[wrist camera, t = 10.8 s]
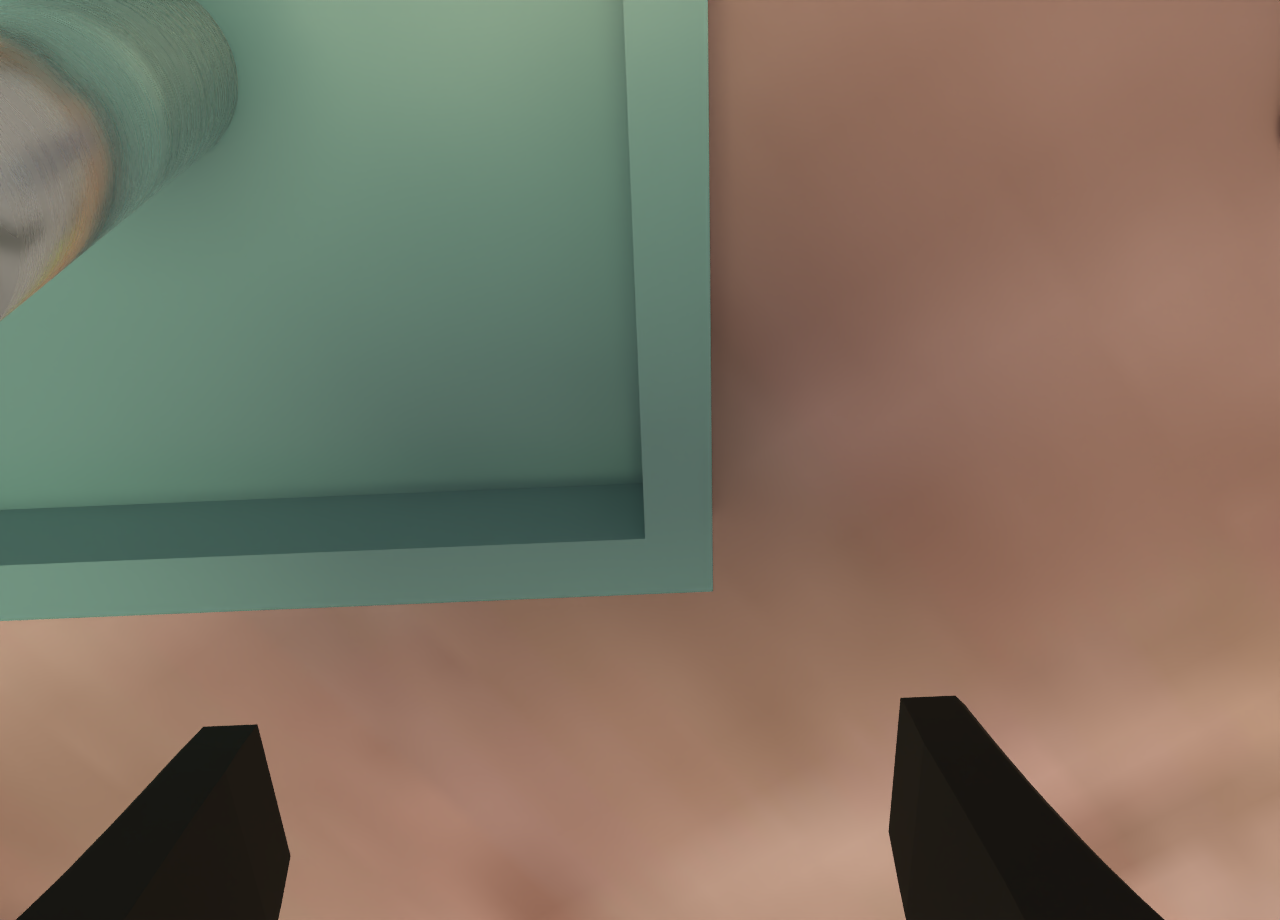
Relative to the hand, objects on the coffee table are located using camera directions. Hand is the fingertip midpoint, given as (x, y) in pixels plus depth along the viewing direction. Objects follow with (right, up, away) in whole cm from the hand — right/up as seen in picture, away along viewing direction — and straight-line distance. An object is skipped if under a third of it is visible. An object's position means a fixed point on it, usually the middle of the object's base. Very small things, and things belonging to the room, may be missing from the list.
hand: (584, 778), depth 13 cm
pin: (-7, +10, +6) cm, 14 cm away
